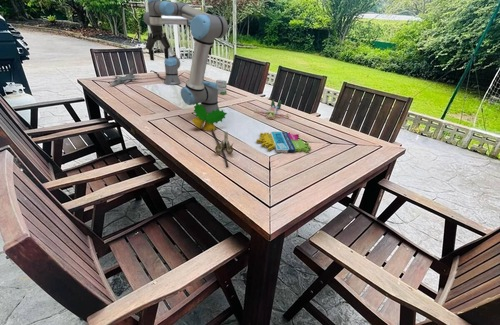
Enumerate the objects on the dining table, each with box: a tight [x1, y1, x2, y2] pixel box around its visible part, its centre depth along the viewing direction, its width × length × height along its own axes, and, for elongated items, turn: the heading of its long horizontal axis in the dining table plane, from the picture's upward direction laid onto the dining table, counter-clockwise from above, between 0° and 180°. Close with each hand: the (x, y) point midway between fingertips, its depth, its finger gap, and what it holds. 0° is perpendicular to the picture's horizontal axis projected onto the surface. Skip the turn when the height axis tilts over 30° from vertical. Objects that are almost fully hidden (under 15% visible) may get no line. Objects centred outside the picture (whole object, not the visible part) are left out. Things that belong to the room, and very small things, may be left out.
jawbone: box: [214, 131, 234, 156], centre depth 136 cm, size 9×15×10 cm
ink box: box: [215, 79, 228, 96], centre depth 236 cm, size 9×5×12 cm, turn 62°
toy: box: [252, 99, 291, 120], centre depth 197 cm, size 28×7×30 cm
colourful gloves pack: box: [256, 131, 312, 154], centre depth 152 cm, size 26×2×30 cm
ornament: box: [191, 102, 228, 132], centre depth 162 cm, size 21×8×15 cm, turn 105°
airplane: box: [109, 67, 143, 87], centre depth 251 cm, size 38×32×10 cm
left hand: (205, 55), depth 264 cm, fingers open, 13 cm apart
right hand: (159, 59), depth 181 cm, fingers open, 13 cm apart
